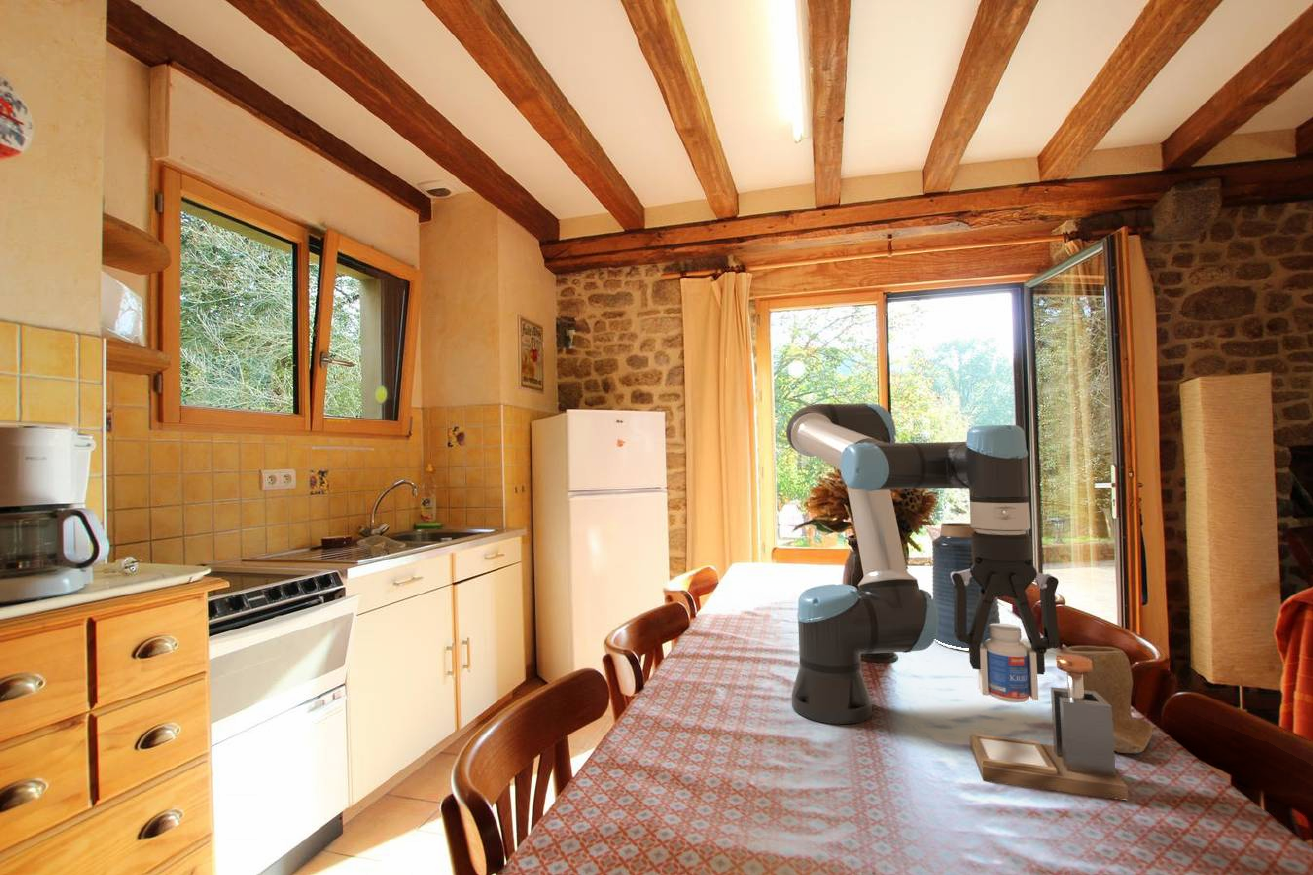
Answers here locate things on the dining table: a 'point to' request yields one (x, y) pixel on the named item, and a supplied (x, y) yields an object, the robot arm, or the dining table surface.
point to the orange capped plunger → (1074, 673)
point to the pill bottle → (1007, 664)
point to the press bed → (1037, 768)
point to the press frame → (1083, 732)
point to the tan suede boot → (1115, 694)
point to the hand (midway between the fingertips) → (1007, 693)
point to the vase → (952, 556)
